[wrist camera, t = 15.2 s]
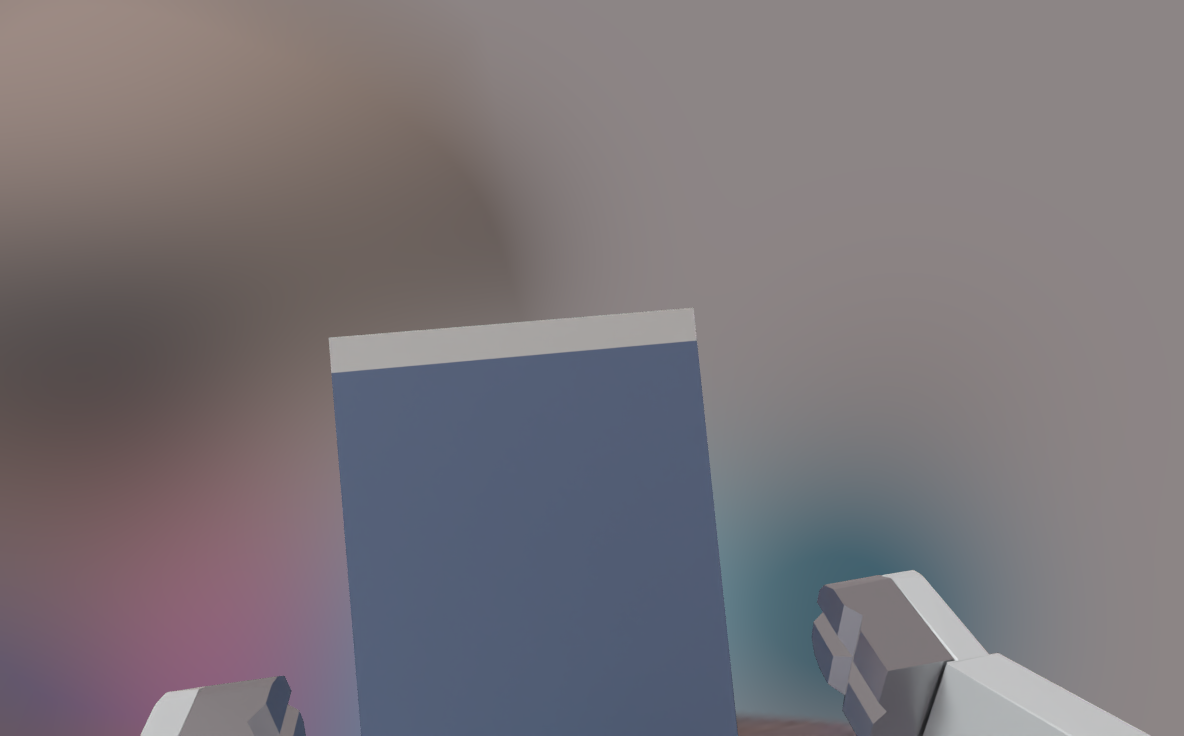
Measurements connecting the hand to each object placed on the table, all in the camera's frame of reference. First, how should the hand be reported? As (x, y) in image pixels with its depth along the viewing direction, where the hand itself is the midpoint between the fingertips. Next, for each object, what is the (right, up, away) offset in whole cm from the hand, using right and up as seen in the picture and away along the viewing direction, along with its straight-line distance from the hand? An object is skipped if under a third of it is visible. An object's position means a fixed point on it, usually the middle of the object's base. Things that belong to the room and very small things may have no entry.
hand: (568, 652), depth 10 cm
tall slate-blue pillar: (-1, -20, +23) cm, 30 cm away
